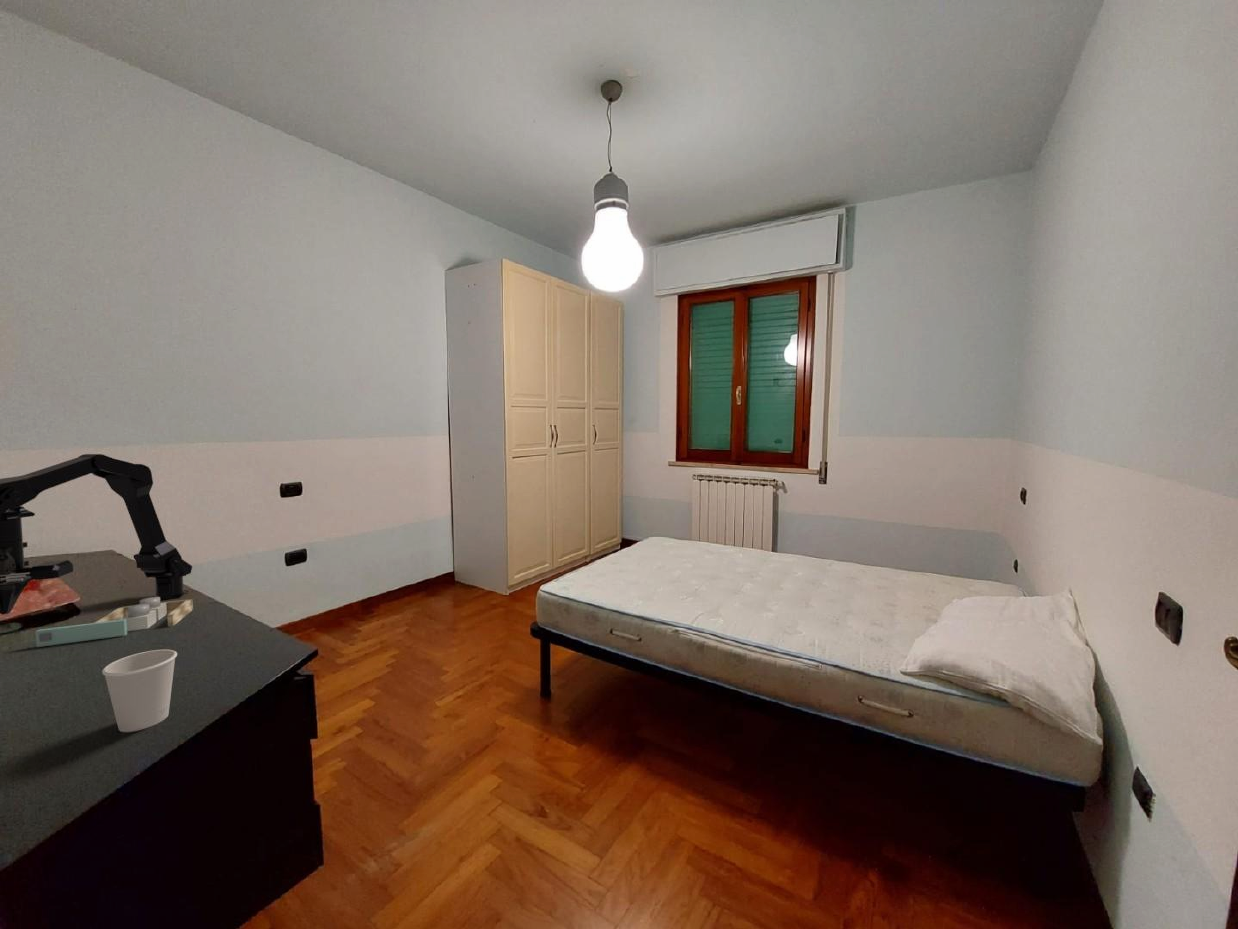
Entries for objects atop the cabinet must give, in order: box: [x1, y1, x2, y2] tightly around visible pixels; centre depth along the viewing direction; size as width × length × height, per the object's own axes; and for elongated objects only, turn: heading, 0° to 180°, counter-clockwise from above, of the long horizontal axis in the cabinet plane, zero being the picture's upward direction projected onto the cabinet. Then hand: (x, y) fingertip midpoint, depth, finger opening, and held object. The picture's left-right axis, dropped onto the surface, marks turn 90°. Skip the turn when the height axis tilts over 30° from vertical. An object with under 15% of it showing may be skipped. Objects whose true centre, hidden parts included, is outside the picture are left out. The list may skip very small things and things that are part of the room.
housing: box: [94, 598, 194, 632], centre depth 114 cm, size 12×14×3 cm
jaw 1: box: [121, 603, 157, 632], centre depth 111 cm, size 4×4×5 cm
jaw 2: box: [139, 596, 168, 622], centre depth 116 cm, size 4×4×5 cm
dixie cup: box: [101, 648, 178, 733], centre depth 74 cm, size 8×8×10 cm
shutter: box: [35, 619, 128, 648], centre depth 103 cm, size 1×14×4 cm, turn 115°
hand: (5, 613), depth 98 cm, fingers closed
